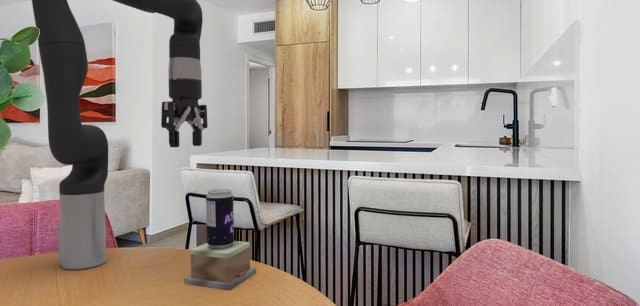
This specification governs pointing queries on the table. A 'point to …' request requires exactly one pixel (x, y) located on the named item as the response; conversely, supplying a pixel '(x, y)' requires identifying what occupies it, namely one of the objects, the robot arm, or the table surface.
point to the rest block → (220, 265)
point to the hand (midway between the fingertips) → (186, 146)
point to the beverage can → (219, 218)
